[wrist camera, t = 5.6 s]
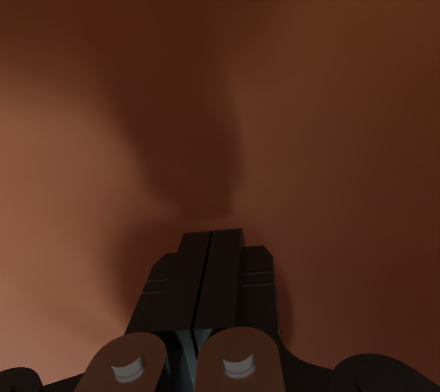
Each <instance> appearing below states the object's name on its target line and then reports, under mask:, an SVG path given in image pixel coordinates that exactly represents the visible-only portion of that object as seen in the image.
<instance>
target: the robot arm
mask: <svg viewBox="0 0 440 392" xmlns="http://www.w3.org/2000/svg"><path fill="white" fill-rule="evenodd" d="M147 280H148V282H146V284H145V286H144V289H143V294H141V296H140V298H139V301H138V303H137V305H136V308H135V310H134V312H133V315H132V317H131V320H130V322H129V324H128V327H127V329H126V331H125V334H124V335H122V336H120V337H118V338H116V339H114V340H112V341H110V342H109V343H107V344H106V345H105V346H103V347H102V348H101V349H100V350H99V351H98V352H97V353H96V355H95V356H94V357H93V359H92V360H91V362H90V364H89V366H88V367H87V369H86V371H85V372H84V373H82V374H79V375H77V376H73V377H70V378H67V379H64V380H61V381H57V382H54V383H51V384H48V385H45V386H43V384H42V382H41V380H40V377H39V376H38V374H37V373H36V372H35V371H34V370H32V369H30V368H25V367H17V368H11V369H7V370H4V371H1V372H0V392H440V386H438V385H437V384H435V383H434V382H432V381H431V380H429V379H428V378H426V377H425V376H423V375H421V374H420V373H418V372H417V371H415V370H414V369H412V368H411V367H409V366H408V365H406V364H404V363H403V362H401V361H398V360H396V359H394V358H391V357H388V356H384V355H379V354H359V355H355V356H352V357H349V358H347V359H345V360H343V361H342V362H340V363H339V364H338V365H337V366H336V367H335V369H334V370H332V369H328V368H324V367H320V366H316V365H312V364H309V363H307V362H304V361H302V360H300V359H298V358H297V357H295V356H294V355H292V354H291V353H290V352H289V351H288V350H287V349H286V348H285V347H284V345H283V343H282V342H281V336H280V323H279V311H278V300H277V291H276V282H275V273H274V264H273V256H272V255H271V254H270V253H269V251H268V250H267V249H266V248H265V247H264V246H251V247H245V243H244V236H243V231H242V228H237V229H226V230H215V231H205V232H194V233H185V234H184V235H183V238H182V241H181V243H180V246H179V249H178V252H177V253H168V254H165V255H164V256H163V257H162V258H161V259H160V260H159V261H158V262H157V263H156V264H155V265H154V266H153V267H152V270H151V272H150V275H149V277H148V279H147Z"/></svg>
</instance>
